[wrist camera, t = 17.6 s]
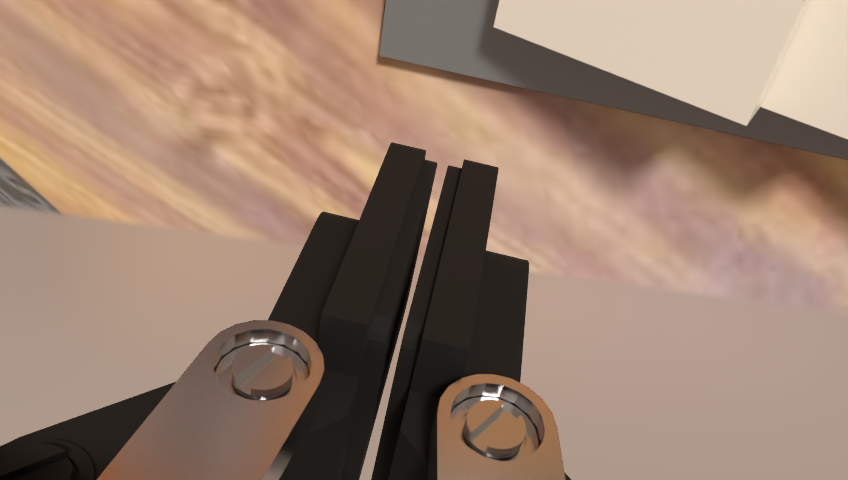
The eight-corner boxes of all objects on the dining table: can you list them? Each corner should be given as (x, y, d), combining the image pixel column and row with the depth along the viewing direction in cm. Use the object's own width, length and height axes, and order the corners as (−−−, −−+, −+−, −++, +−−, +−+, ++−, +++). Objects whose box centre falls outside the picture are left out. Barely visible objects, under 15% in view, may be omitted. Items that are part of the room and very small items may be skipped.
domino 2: (622, 54, 29) (896, 157, 25) (667, -81, 26) (985, 14, 22) (639, 41, 30) (900, 136, 27) (684, -88, 27) (985, 0, 24)
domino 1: (493, 26, 29) (746, 126, 26) (523, -111, 26) (815, -21, 23) (517, 15, 31) (760, 107, 27) (548, -117, 28) (826, -33, 24)
